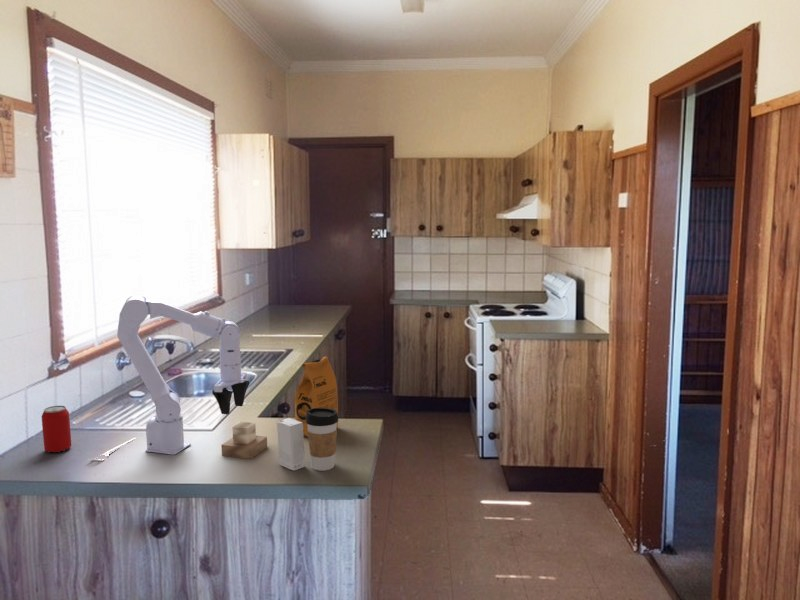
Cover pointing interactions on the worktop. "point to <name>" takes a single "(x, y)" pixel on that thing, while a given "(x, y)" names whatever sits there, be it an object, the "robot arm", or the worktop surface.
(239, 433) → the birch block
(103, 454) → the fork
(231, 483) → the worktop surface
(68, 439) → the beverage can
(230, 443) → the walnut base
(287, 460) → the skincare box
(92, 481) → the worktop surface
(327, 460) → the coffee cup
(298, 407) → the coffee package
